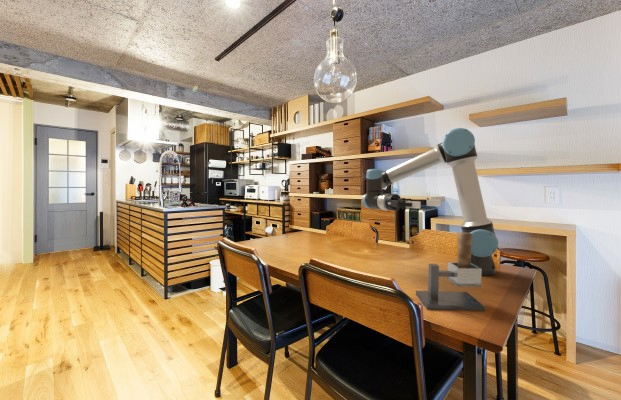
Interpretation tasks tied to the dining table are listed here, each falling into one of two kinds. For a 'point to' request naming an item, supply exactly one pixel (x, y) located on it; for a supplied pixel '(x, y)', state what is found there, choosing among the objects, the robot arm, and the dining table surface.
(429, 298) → the cup bracket
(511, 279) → the dining table surface
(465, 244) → the walnut rail
